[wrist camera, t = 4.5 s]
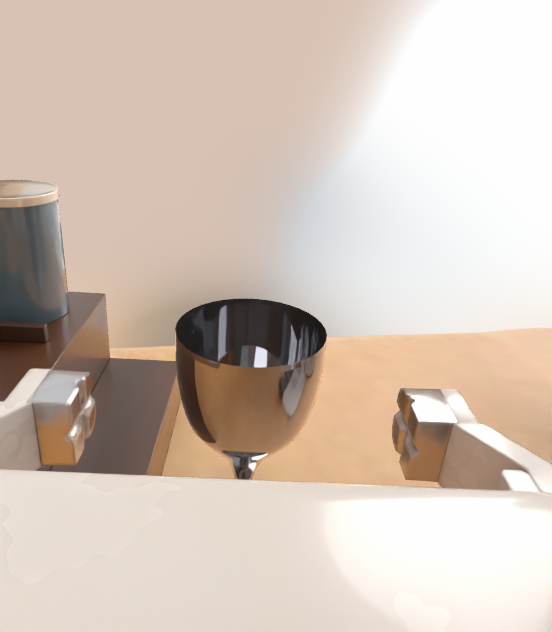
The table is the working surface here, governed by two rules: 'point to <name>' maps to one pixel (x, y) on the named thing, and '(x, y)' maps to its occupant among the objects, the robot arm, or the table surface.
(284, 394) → the wine glass
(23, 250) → the tumbler
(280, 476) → the table surface
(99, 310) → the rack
